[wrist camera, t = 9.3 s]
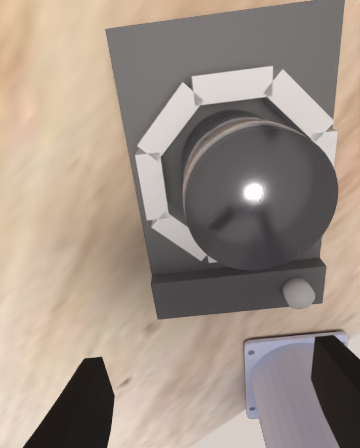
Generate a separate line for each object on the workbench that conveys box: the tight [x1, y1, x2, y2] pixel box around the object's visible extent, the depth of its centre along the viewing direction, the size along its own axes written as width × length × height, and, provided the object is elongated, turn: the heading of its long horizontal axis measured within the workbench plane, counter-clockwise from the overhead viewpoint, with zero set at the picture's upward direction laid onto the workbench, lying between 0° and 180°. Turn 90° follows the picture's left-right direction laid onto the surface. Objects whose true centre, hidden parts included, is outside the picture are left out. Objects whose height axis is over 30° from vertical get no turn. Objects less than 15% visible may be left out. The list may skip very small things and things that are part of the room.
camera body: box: [105, 0, 345, 319], centre depth 15 cm, size 14×9×6 cm, turn 7°
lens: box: [182, 109, 338, 270], centre depth 11 cm, size 4×4×6 cm
